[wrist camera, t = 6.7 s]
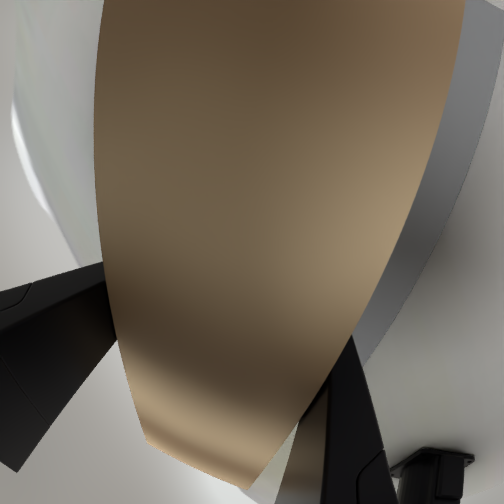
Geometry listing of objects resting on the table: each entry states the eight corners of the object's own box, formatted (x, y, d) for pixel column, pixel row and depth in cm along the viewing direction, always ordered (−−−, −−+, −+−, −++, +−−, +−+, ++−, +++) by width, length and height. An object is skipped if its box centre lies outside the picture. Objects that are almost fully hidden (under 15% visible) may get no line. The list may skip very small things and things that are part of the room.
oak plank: (273, 430, 14) (247, 490, 11) (182, 391, 15) (147, 443, 12) (434, -26, 4) (468, -97, 1) (223, -56, 5) (132, -106, 2)
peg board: (342, 386, 19) (325, 451, 15) (177, 319, 21) (136, 369, 17) (499, 17, 6) (554, -8, 2) (218, -48, 9) (150, -84, 5)
